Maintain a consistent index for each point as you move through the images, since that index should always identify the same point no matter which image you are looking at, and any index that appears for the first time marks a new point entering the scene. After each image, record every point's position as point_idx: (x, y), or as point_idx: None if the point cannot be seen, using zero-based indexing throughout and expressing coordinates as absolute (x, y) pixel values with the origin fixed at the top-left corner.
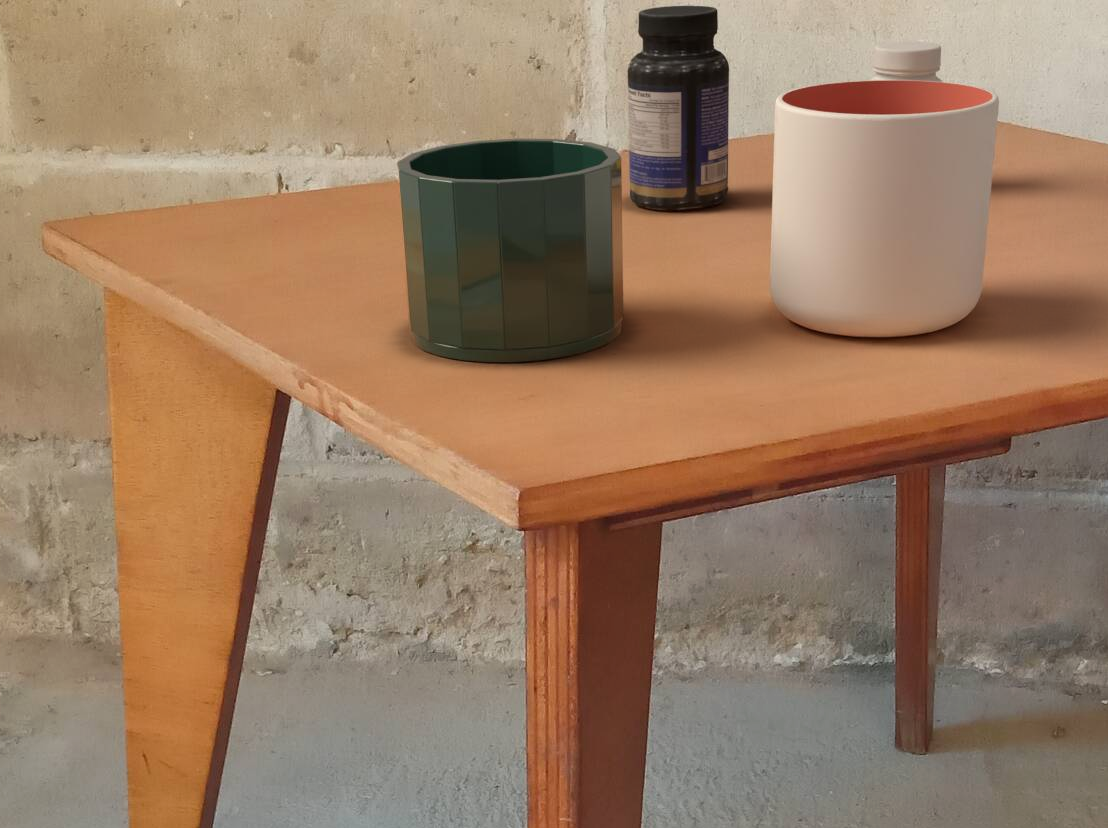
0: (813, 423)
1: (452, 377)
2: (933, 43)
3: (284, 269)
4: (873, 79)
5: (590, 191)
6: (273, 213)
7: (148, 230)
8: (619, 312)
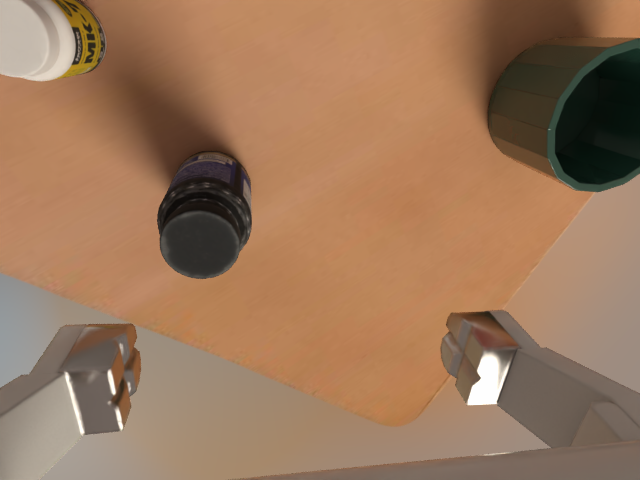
0: None
1: None
2: None
3: (453, 288)
4: (53, 67)
5: None
6: (347, 369)
7: (402, 390)
8: (550, 41)
